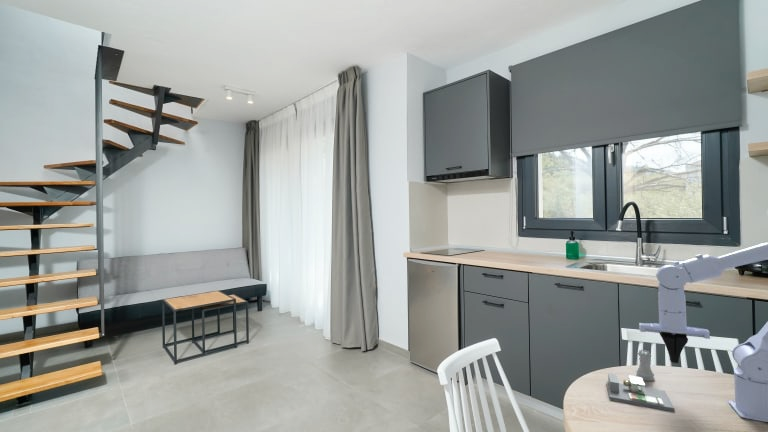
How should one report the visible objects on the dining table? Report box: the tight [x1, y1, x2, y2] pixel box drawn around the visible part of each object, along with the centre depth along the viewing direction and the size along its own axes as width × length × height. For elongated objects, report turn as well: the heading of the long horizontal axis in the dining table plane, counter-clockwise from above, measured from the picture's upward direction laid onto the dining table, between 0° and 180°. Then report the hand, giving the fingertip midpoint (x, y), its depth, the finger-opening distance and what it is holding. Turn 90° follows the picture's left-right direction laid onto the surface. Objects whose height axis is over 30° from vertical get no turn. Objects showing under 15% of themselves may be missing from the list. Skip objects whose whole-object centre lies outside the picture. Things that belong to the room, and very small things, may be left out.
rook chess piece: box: [635, 349, 655, 382], centre depth 105 cm, size 4×4×8 cm
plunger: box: [622, 375, 646, 394], centre depth 95 cm, size 4×8×2 cm, turn 152°
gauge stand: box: [606, 372, 676, 413], centre depth 94 cm, size 14×10×3 cm
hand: (674, 361), depth 94 cm, fingers closed
